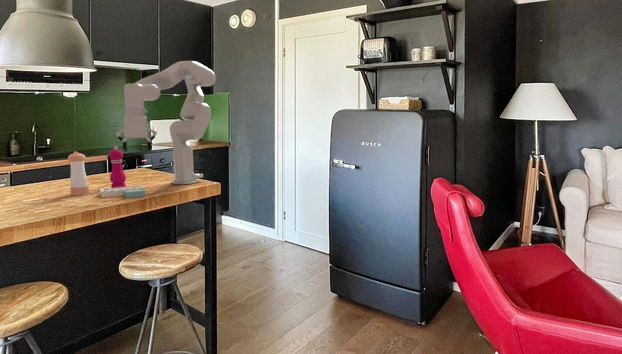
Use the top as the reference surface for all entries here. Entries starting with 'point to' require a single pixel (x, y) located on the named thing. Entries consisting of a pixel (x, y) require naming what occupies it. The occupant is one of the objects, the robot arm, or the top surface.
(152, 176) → the top surface
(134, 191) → the stub
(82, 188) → the pepper shaker
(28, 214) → the top surface
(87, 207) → the top surface
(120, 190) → the ticket
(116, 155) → the pepper mill
